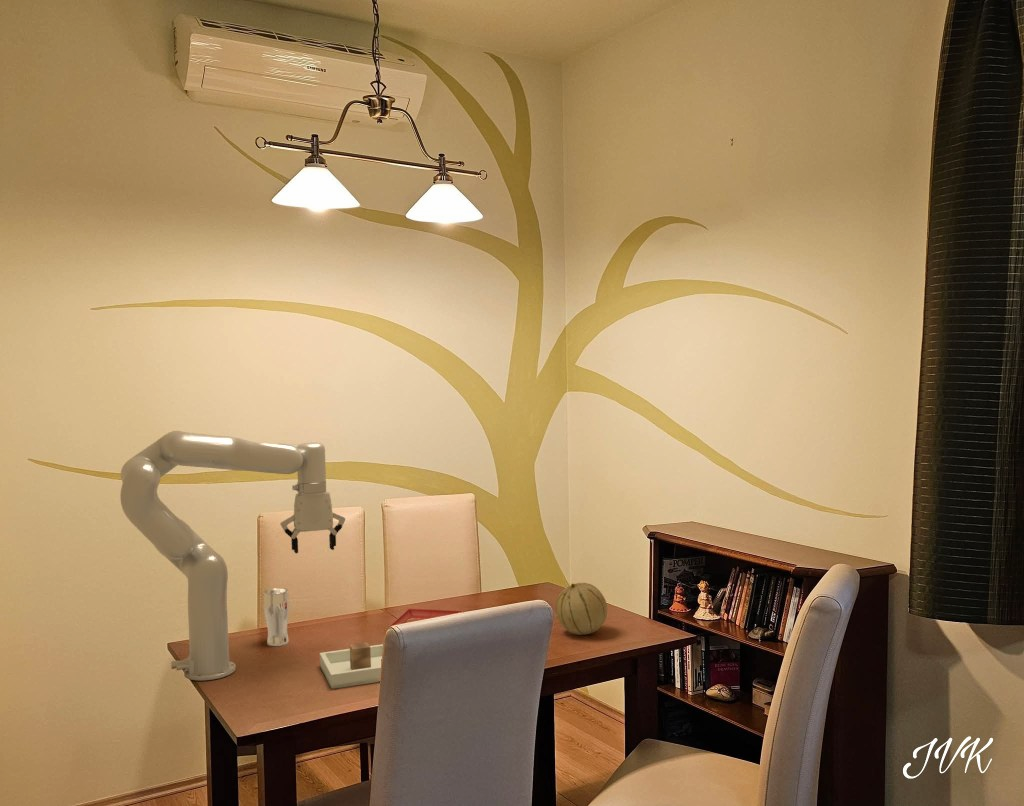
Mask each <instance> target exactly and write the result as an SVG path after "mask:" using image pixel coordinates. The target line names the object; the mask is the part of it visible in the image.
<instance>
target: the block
mask: <svg viewBox="0 0 1024 806" xmlns="http://www.w3.org/2000/svg"><path fill="white" fill-rule="evenodd" d="M370 646H371V645H370V644H369V643H368V642H367V641H366V642H358V643H351V644H349V649H350V668H351V670H356V669H363V668H370V667H371V652H370Z"/></svg>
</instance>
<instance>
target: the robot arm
mask: <svg viewBox="0 0 1024 806" xmlns="http://www.w3.org/2000/svg"><path fill="white" fill-rule="evenodd" d="M325 448H326V447H325V445H324V444H323V443H321V442H304V443H299V444H298V443H297V444H296V443H275V444H273V443H263V442H256V441H251V440H246V439H244V438H243V439H242V438H239V437H234V436H225V435H214V434H204V433H197V432H196V433H194V432H186V431H181V430H172V431H170V432H168V433H166V434H164V435H163V436H161V437H160V438H158V439H157V440H155V442H153V443H151V444H150V445H149V446H147V447H146V448H143V449H142V450H141V451H139V452H137V454H135V455H134V456H132V457H131V458H130V459H128V460H127V461H126V462H125V463H124V464H123V466H122V468H121V470H120V479H121V481H122V483H121V488H120V496H119V497H120V505H121V508H122V511H123V513H124V515H125V517H126V518H127V519H128V520H129V521H130V523H131V524H133V526H134V527H135V528H136V529H137V530H138V531H139V532H140V533H141V534H142V535H143V536H144V537H145V538H146V539H147V540H148V541H150V543H152V545H153V547H154V548H155V549H156V550H157V552H159V554H161V555H162V556H164V557H165V558H166V559H167V560H168V561H169V562H170V563H171V564H173V566H175V568H177V569H178V570H179V571H180V572H181V573H182V574H183V575H184V576H185V577H186V579H187V617H188V639H189V641H188V642H189V654H188V657H186V658H185V657H184V659H183V660H173V661H171V670H176V671H182V670H184V671H183V674H184V678H185V679H188V680H191V681H197V682H198V681H212V680H217V679H221V678H224V677H227V676H229V675H232V674H234V672H235V671H236V667H237V665H236V663H234V661H232V660H231V661H230V650H229V649H230V648H229V647H230V646H229V622H228V621H229V620H228V619H229V616H228V602H227V601H228V599H227V598H228V577H229V574H228V573H229V571H228V566H227V563H226V561H225V560H224V557H222V555H221V554H219V553H218V552H217V551H215V549H213V547H211V546H210V545H209V544H208V543H207V542H206V541H205V540H204V539H203V538H202V537H200V535H199V534H197V533H196V531H195V530H194V529H192V528H191V526H190V525H189V524H188V523H187V522H185V521H184V520H183V519H180V518H179V517H177V515H175V513H173V512H172V511H171V510H170V508H168V506H167V505H166V504H164V503H163V501H162V500H161V499H160V497H159V495H158V488H159V486H160V482H161V478H162V477H163V476H165V475H166V474H168V473H169V472H171V471H172V470H174V469H175V468H176V467H177V466H183V467H194V468H195V467H196V468H207V469H218V470H219V469H220V470H229V471H230V470H231V471H241V472H242V471H245V472H255V473H256V472H257V473H268V474H276V475H291V474H295V473H297V474H296V475H297V482H296V484H293V485H292V491H296V492H297V493H295V495H294V496H295V497H294V504H293V515H291V516H290V517H287V518H286V519H285V520H283V521H281V522H280V524H279V525H280V526H281V528H282V529H283V531H284V533H285V534H286V535H287V536H289V537H290V539H291V540H290V541H291V551H293V552H294V553H295V554H298V553H299V540H298V537H297V536H298V535H299V534H301V533H306V532H316V531H327V530H328V531H329V532H330V533H329V539H328V541H329V549H330V550H331V551H334V550H335V547H337V535H338V533H339V531H340V530H342V528H343V526H344V524H345V521H346V517H344V516H341V515H340V514H337V513H335V512H333V507H332V506H333V504H332V499H331V494H330V492H328V491H327V476H326V473H327V472H326V471H327V470H326V469H327V466H326V449H325ZM334 519H335V520H338V522H337V524H336V525H335V526H334ZM291 523H293V527H294V528H293V529H292V530H291V529H289V527H288V525H289V524H291ZM333 526H334V527H333Z"/></svg>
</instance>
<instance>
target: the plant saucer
mask: <svg viewBox="0 0 1024 806" xmlns="http://www.w3.org/2000/svg"><path fill="white" fill-rule="evenodd" d="M458 612H463V613H464V610H450V609H449V610H448V609H446V610H445V609H431V608H430V609H428V608H427V609H426V608H408V609H406V610H405V611H404V612H403V613H402V614H401V615H400V616H398V617H397V618H396V619H395V620H393V622H392V623H391V624H389V625H388V627H389V628H390V627H391V626H392V625H395V624H398V623H403V622H407V620H408V619H410V618H416V619H414V620H420V619H425V618H431V617H436V616H442V615H447V614H453V613H458ZM417 618H420V619H417ZM414 620H409V621H414Z"/></svg>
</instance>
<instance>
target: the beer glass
mask: <svg viewBox="0 0 1024 806" xmlns="http://www.w3.org/2000/svg"><path fill="white" fill-rule="evenodd" d="M263 595H264V596H263V612H264V616H265V622H266V627H267V641H266V645H267V646H269V647H280V646H285V645H287V644H289V642H290V639H289V634H288V621H289V616H290V615H289V614H290V598H289V590H288V589H287V588H283V587H277V588H276V587H275V588H269V589H267V590H265V591H264V594H263Z"/></svg>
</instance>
